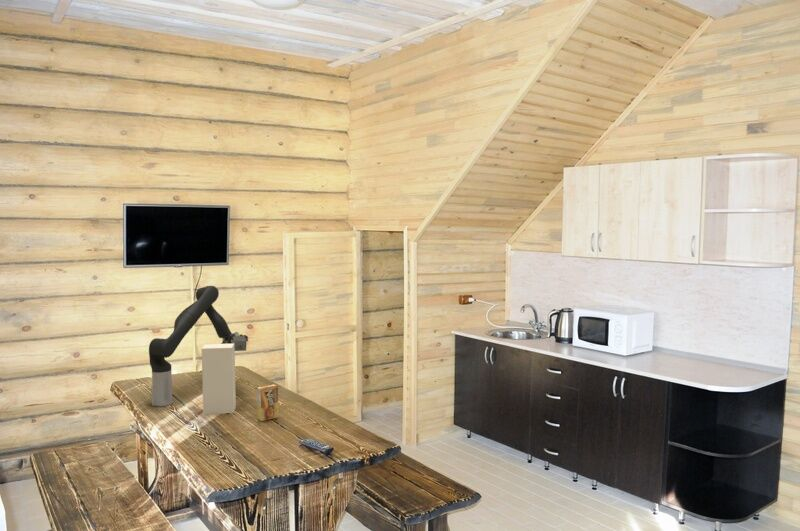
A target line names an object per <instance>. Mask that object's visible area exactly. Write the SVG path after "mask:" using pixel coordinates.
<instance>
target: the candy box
mask: <svg viewBox="0 0 800 531" xmlns="http://www.w3.org/2000/svg"><path fill="white" fill-rule="evenodd" d="M256 391H257V393H256V394H257V395H256V396H257V397H256V398H257V420H259V421H260V422H264V421H268V420H271V419H272V420H273V419H277V418H279V386H278V385H276V384H269V385H263V386H259V387H257V388H256Z"/></svg>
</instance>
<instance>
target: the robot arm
mask: <svg viewBox="0 0 800 531" xmlns="http://www.w3.org/2000/svg"><path fill="white" fill-rule="evenodd" d="M219 293H220V292H219V289H218V288H217V287H216V285H215V286H214V285H207V286H204V287H199V288H198V289H197V290H196V292H195V298H196V301H195V302H194V301H193V303H191V304H190V305H188V306H187V307H186V308H184V309H183V310H182V311H181V312H180V313H179V314H178V315H177V317H176V318H175V320H174V325H173V326H174V327H173V332H171V334H170V335H169V336H168V337H166V338H159V337H157V338H152V340H150V343H149V344H148V345H149V346H148V357H149V358H148V359H149V365H150V369H151V385H152V386H151V406H152V407H167V406H170V405H172V404H173V376H172V375H173V374H172V364H171V363H170V362H168V361H167V360H166V359H167V358H169V357H171V356H172V355H173V354H174V353H175V351H176V350H177V348H178V347H179V346H180V343H181V342H182V341H183V339H184V338H185V336H186V335H187V334H188V333H189V331H190V330H191V329H192V328H193V327H194V326H195V324H196V323H197V322H198V321H199V320H200V319H201V317H202V316H203V315H204V314H206V316H207V317H208V319H209V321H210V322H211V324H212V326H213V328H214V329H215V332H216V335H217V337H218V338H219V339H222V342H221V343H220V344H232V343H233V336H235V335H233V334H234V333H235V332H233V333H232V331H231V330H230V328H229V326H228V324H227V321H226V320H225V318H224V317H223V316H222V315H221V314H220V313H219V312H218V311H217V310H216V309H215V307H214V306H213V304H214V303H215V302H216V301H217V300H218V298H219ZM239 335H240V336H245V338H246V341H247V342H249V336H248V335H246V334H240V333H239Z"/></svg>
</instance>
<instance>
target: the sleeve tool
mask: <svg viewBox="0 0 800 531" xmlns="http://www.w3.org/2000/svg"><path fill="white" fill-rule="evenodd" d="M233 333H234V334H233ZM233 333H232V334H233V335H235V336H233V343H234V344H235V352H242V351H243V352H244V351H247V342H248V341H246V338H245V336H240V332H239V331H235V332H233Z"/></svg>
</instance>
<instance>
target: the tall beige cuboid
mask: <svg viewBox="0 0 800 531" xmlns="http://www.w3.org/2000/svg"><path fill="white" fill-rule="evenodd" d="M235 355H236V351H235V344H234V343H232V344H221V343H205V344H204V345H203V346H202V347H201V370H202V371H201V372H202V373H201V374H202V376H201V377H202V378H201V379H202V414H207V415H223V414H224V415H225V414H226V413H230V414H234V413H235V411H236V406H237V402H236V401H237V399H236V397H237V396H236V395H237V394H236V390H237V388H236V356H235Z"/></svg>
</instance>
